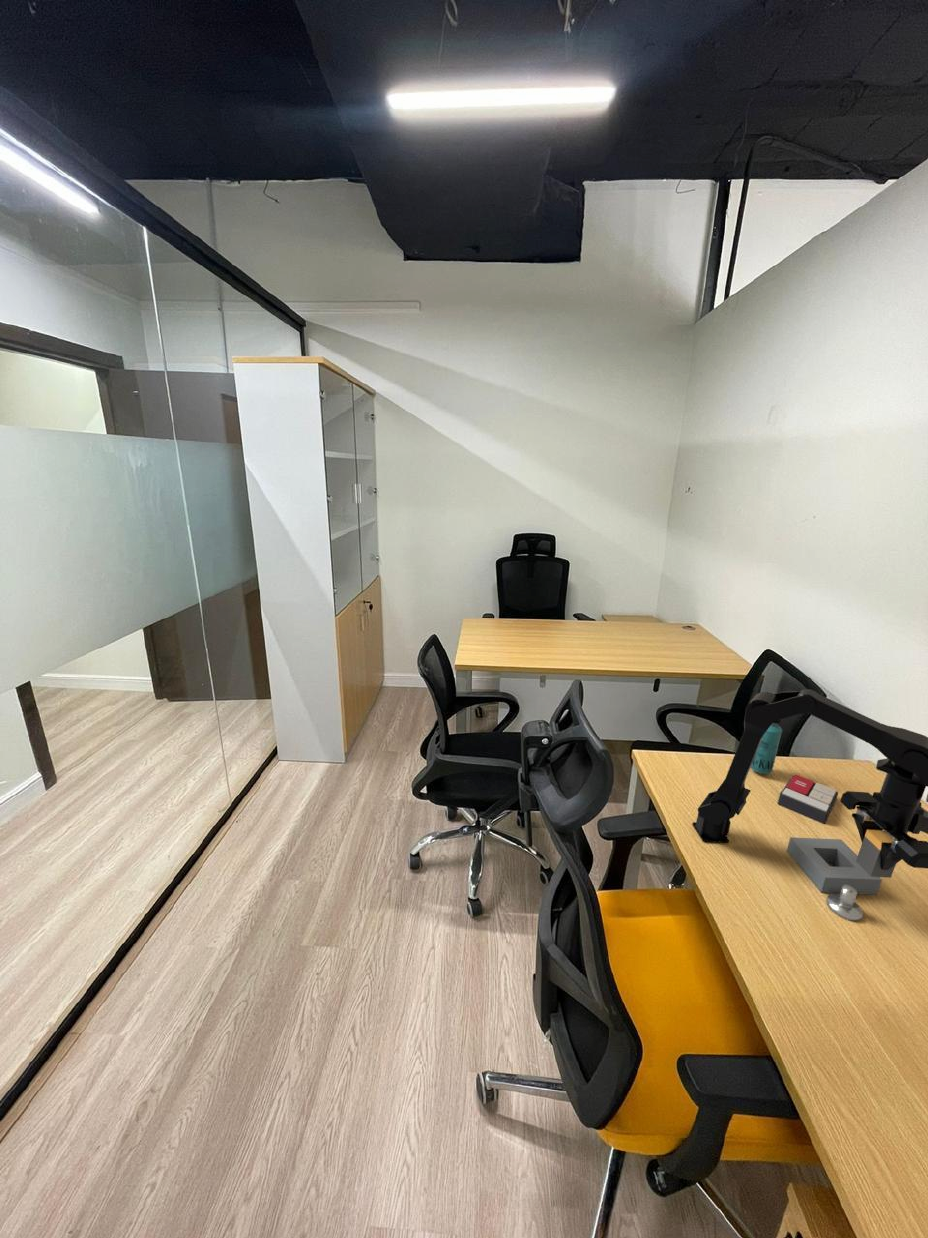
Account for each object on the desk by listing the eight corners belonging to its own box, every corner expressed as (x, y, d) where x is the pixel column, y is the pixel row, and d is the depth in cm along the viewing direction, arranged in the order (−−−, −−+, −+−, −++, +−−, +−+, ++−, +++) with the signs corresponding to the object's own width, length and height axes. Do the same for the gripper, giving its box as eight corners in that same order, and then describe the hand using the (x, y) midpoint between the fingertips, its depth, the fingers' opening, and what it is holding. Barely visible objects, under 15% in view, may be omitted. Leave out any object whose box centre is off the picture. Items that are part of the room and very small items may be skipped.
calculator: (839, 789, 135) (829, 811, 124) (835, 803, 136) (824, 825, 126) (793, 772, 142) (780, 791, 132) (790, 785, 143) (776, 804, 133)
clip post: (839, 920, 98) (845, 901, 96) (819, 896, 103) (825, 877, 102) (869, 922, 98) (876, 902, 96) (847, 897, 103) (853, 878, 102)
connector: (870, 876, 97) (882, 844, 94) (855, 861, 101) (867, 829, 98) (890, 877, 97) (903, 845, 94) (875, 862, 101) (886, 830, 98)
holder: (820, 892, 104) (825, 877, 103) (786, 851, 116) (790, 837, 115) (876, 894, 104) (881, 879, 103) (836, 853, 116) (841, 839, 115)
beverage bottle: (749, 763, 152) (762, 706, 146) (773, 772, 148) (787, 713, 142) (744, 772, 147) (758, 713, 141) (770, 781, 143) (784, 721, 137)
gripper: (990, 833, 84) (959, 903, 89) (902, 770, 102) (879, 831, 107) (925, 829, 85) (898, 899, 89) (848, 767, 103) (828, 827, 107)
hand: (875, 861), depth 98 cm, fingers closed on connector, 4 cm apart
